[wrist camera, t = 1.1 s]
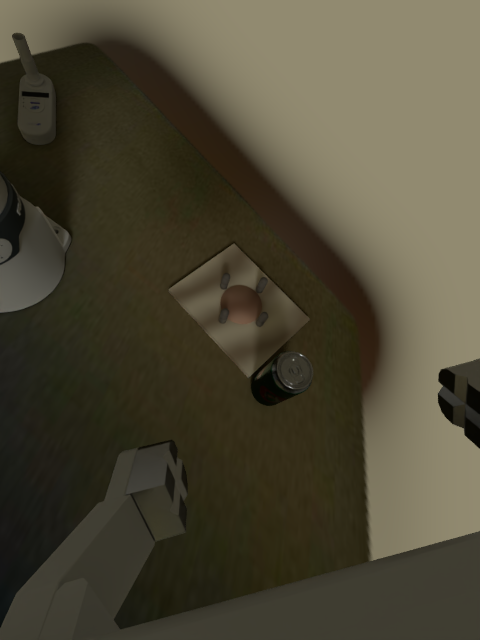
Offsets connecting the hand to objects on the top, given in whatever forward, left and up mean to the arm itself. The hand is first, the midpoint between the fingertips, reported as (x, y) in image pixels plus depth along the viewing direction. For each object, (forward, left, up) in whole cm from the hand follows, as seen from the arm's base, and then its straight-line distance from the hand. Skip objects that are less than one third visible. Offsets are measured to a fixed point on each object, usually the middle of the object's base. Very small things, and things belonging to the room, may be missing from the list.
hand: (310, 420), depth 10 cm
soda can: (+1, +12, -36) cm, 38 cm away
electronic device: (-62, +16, -37) cm, 74 cm away
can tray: (-11, +18, -36) cm, 42 cm away
